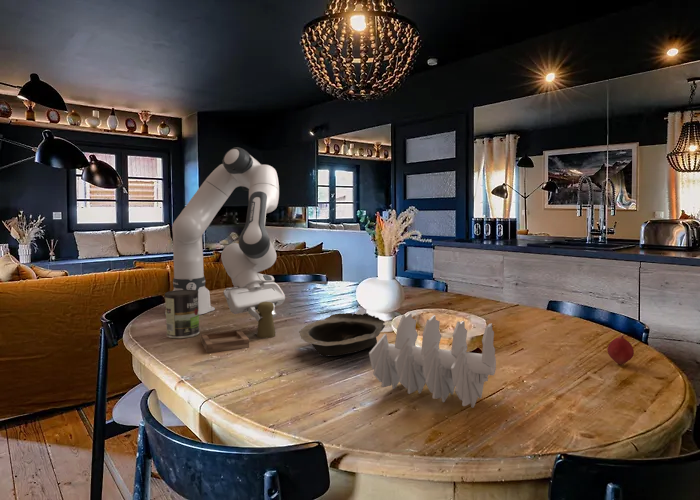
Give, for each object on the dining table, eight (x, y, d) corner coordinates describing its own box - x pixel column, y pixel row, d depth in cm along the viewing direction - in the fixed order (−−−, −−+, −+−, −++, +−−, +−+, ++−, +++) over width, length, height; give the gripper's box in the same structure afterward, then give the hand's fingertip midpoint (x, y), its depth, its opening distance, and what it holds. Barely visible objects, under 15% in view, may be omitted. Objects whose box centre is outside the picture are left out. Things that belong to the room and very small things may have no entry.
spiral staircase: (393, 395, 108) (500, 414, 95) (359, 387, 94) (479, 407, 81) (404, 321, 114) (506, 329, 101) (373, 302, 99) (487, 309, 87)
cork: (277, 336, 144) (276, 303, 143) (258, 339, 141) (257, 304, 140) (273, 332, 149) (272, 299, 148) (255, 334, 147) (254, 301, 146)
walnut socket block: (201, 342, 138) (200, 334, 138) (240, 337, 144) (240, 329, 143) (207, 353, 128) (207, 344, 127) (249, 347, 133) (248, 339, 133)
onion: (601, 362, 118) (603, 332, 118) (617, 359, 120) (619, 330, 120) (622, 369, 113) (623, 338, 112) (638, 366, 115) (639, 336, 114)
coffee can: (205, 330, 151) (204, 289, 150) (188, 339, 141) (187, 295, 140) (178, 329, 153) (176, 288, 152) (159, 337, 143) (157, 294, 142)
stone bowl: (392, 341, 138) (392, 312, 136) (374, 376, 114) (374, 341, 113) (316, 334, 144) (315, 306, 143) (285, 366, 121) (284, 333, 119)
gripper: (224, 282, 141) (243, 318, 135) (276, 275, 156) (295, 307, 150) (217, 294, 144) (235, 330, 138) (269, 286, 159) (287, 318, 153)
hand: (267, 318), depth 144 cm, fingers closed on cork, 4 cm apart
